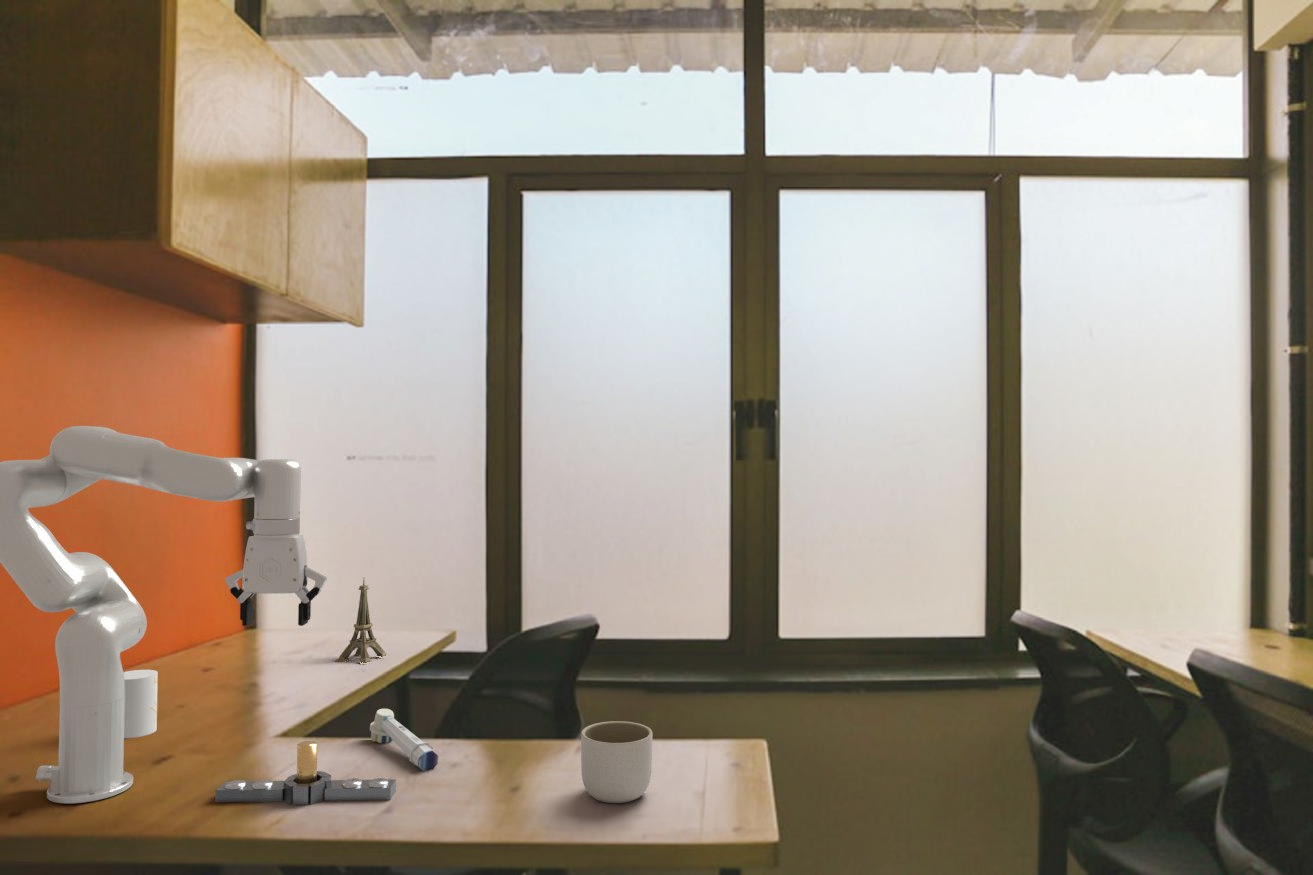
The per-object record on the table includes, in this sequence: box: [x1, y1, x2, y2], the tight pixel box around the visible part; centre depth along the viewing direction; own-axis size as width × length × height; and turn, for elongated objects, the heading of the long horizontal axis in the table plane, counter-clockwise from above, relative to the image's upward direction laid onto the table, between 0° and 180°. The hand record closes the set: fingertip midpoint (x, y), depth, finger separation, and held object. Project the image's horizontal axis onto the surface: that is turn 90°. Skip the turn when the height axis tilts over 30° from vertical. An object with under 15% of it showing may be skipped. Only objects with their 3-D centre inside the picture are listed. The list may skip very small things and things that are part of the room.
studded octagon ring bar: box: [214, 770, 397, 806], centre depth 151 cm, size 29×7×3 cm, turn 94°
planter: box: [580, 720, 654, 804], centre depth 154 cm, size 12×12×11 cm
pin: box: [296, 740, 318, 784], centre depth 151 cm, size 3×3×9 cm
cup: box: [123, 669, 159, 739], centre depth 184 cm, size 8×8×12 cm
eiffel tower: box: [334, 578, 387, 663], centre depth 250 cm, size 11×11×25 cm
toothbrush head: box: [369, 708, 439, 772], centre depth 174 cm, size 5×7×25 cm
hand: (275, 624), depth 157 cm, fingers open, 9 cm apart
